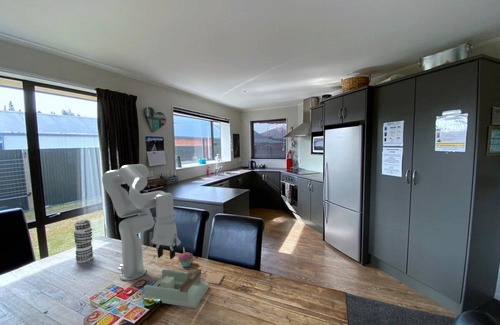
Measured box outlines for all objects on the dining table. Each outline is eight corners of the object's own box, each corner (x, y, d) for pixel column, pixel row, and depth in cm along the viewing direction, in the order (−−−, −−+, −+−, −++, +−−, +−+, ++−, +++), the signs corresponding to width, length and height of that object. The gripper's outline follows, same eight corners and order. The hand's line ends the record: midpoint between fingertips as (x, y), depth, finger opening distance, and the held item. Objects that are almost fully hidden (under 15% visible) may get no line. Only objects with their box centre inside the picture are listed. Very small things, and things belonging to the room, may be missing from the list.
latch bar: (180, 291, 90) (179, 280, 90) (195, 272, 104) (195, 262, 104) (186, 292, 89) (186, 281, 89) (201, 273, 103) (200, 263, 103)
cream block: (160, 294, 98) (160, 281, 97) (166, 288, 102) (166, 276, 102) (169, 295, 97) (168, 283, 97) (174, 289, 101) (174, 277, 101)
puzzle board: (142, 300, 94) (142, 286, 94) (162, 281, 108) (161, 269, 108) (195, 308, 89) (195, 293, 89) (208, 287, 103) (208, 274, 102)
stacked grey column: (92, 254, 139) (90, 217, 137) (94, 259, 132) (92, 220, 131) (75, 259, 132) (72, 220, 131) (75, 265, 126) (73, 224, 124)
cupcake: (188, 269, 119) (188, 249, 118) (175, 268, 120) (174, 248, 120) (195, 261, 127) (195, 242, 127) (183, 260, 129) (182, 241, 128)
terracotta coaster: (203, 283, 106) (203, 281, 106) (210, 274, 114) (210, 272, 114) (218, 285, 105) (218, 283, 105) (224, 275, 112) (224, 274, 112)
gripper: (143, 221, 96) (145, 259, 97) (177, 223, 92) (178, 263, 93) (154, 216, 103) (155, 251, 104) (186, 218, 100) (187, 255, 101)
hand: (166, 256), depth 99 cm, fingers open, 5 cm apart
